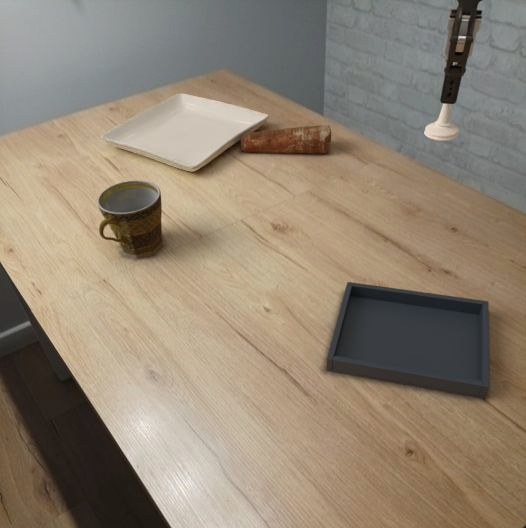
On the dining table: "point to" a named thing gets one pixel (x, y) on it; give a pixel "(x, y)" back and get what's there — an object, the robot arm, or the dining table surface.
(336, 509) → the dining table surface
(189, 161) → the square plate
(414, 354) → the tray
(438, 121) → the chess piece
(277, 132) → the rusty brown tapered cylinder
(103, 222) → the ceramic cup
